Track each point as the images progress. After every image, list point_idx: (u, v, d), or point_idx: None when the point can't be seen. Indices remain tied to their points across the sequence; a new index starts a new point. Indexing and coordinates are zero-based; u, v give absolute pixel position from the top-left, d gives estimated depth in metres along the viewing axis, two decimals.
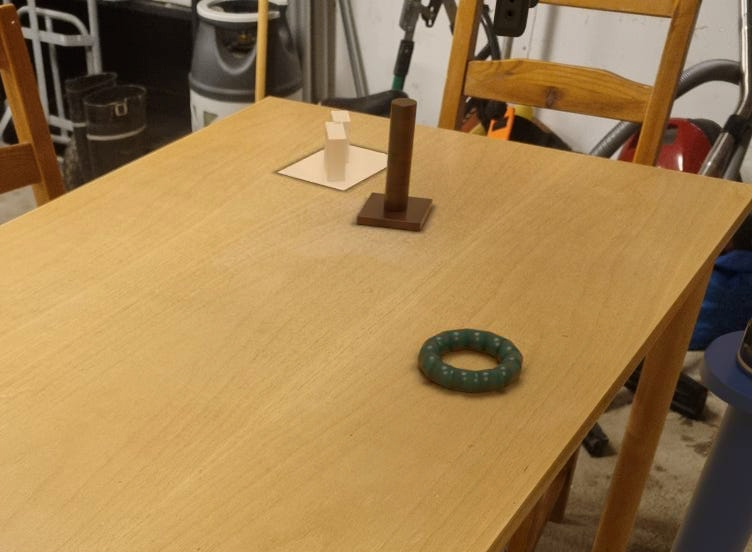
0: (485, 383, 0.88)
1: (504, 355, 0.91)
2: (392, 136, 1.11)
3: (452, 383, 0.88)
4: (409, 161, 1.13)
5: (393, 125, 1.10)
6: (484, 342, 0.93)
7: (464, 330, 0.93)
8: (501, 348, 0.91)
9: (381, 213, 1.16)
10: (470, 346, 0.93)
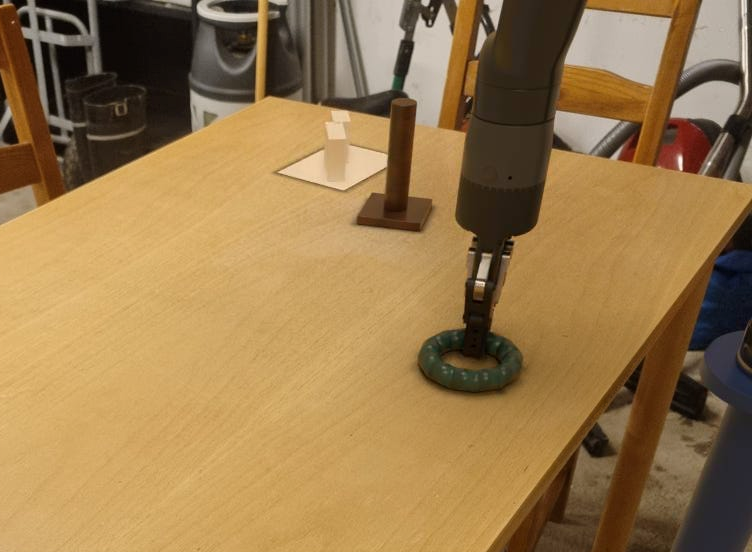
0: (485, 382, 0.88)
1: (504, 354, 0.91)
2: (392, 136, 1.11)
3: (452, 382, 0.88)
4: (409, 161, 1.13)
5: (393, 125, 1.10)
6: None
7: (464, 329, 0.93)
8: (501, 347, 0.91)
9: (381, 213, 1.16)
10: None
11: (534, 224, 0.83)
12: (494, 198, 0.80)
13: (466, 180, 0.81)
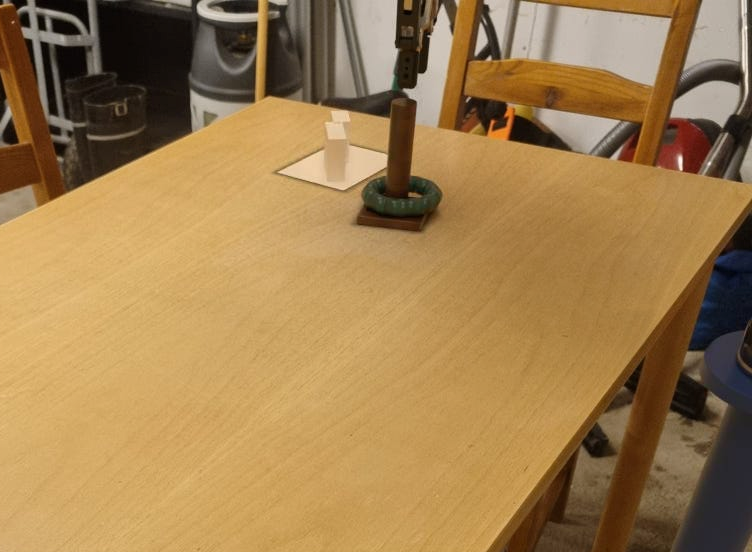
0: (410, 208, 1.14)
1: (427, 191, 1.17)
2: (392, 136, 1.11)
3: (385, 208, 1.14)
4: (409, 161, 1.13)
5: (393, 125, 1.10)
6: (413, 184, 1.19)
7: None
8: (426, 187, 1.18)
9: None
10: None
11: None
12: None
13: None
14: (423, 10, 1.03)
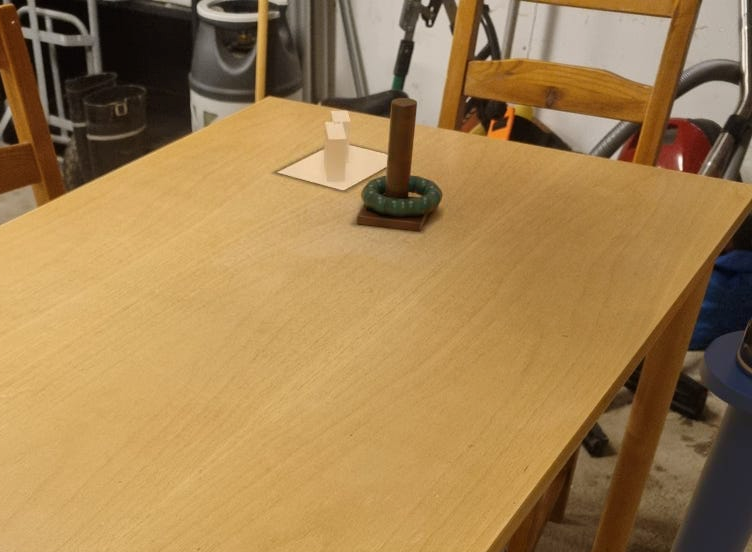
0: (410, 208, 1.14)
1: (427, 191, 1.17)
2: (392, 136, 1.11)
3: (385, 208, 1.14)
4: (409, 161, 1.13)
5: (393, 125, 1.10)
6: (413, 184, 1.19)
7: None
8: (426, 187, 1.18)
9: None
10: None
11: None
12: None
13: None
14: None
